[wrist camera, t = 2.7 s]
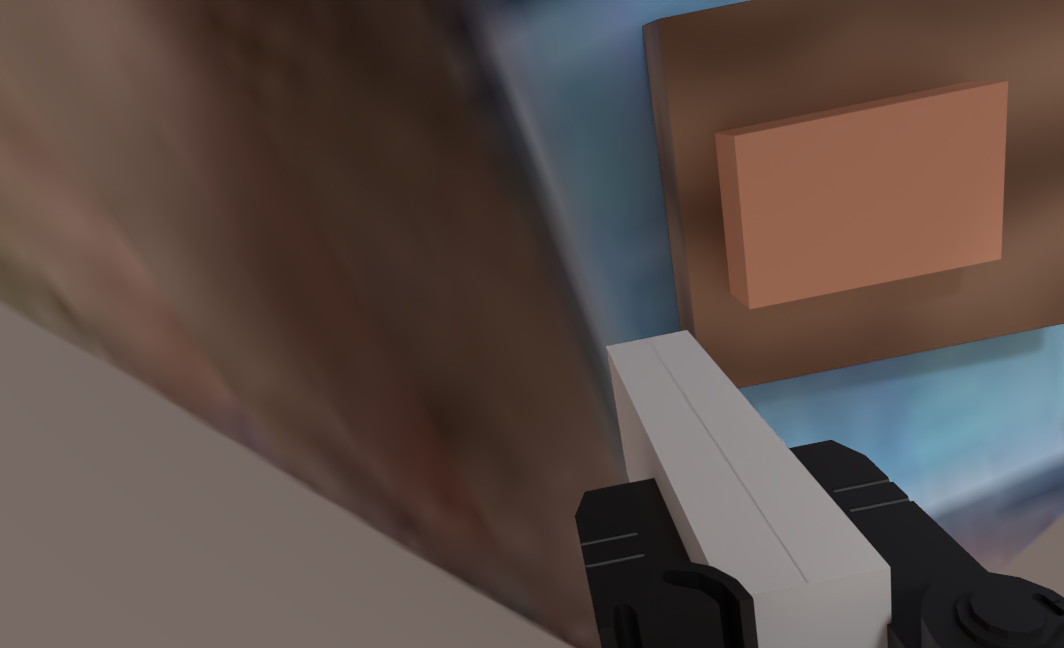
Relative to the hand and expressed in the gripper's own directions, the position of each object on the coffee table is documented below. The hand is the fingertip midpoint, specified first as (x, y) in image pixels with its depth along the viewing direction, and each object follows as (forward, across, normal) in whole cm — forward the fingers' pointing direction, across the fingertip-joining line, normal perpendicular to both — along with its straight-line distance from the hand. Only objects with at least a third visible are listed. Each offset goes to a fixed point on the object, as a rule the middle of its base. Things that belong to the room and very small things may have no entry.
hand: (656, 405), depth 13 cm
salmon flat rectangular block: (+13, +10, 0) cm, 16 cm away
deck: (+16, +12, 0) cm, 20 cm away
